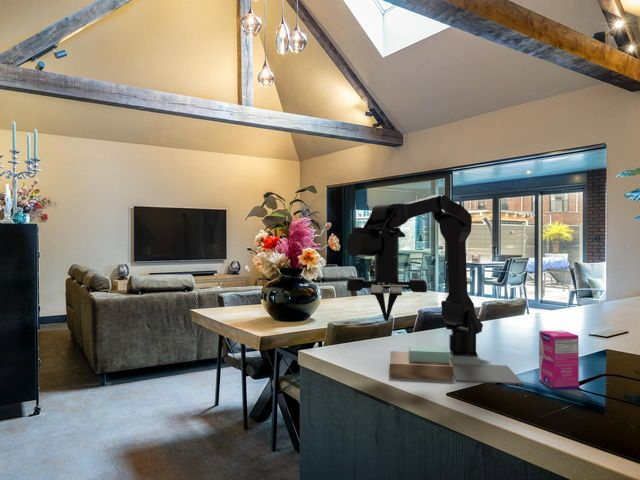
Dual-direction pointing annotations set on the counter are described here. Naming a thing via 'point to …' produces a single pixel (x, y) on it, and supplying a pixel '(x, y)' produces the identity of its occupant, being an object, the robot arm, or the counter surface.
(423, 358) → the mint green block
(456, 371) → the mat
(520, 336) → the counter surface
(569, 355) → the supplement box
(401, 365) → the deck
